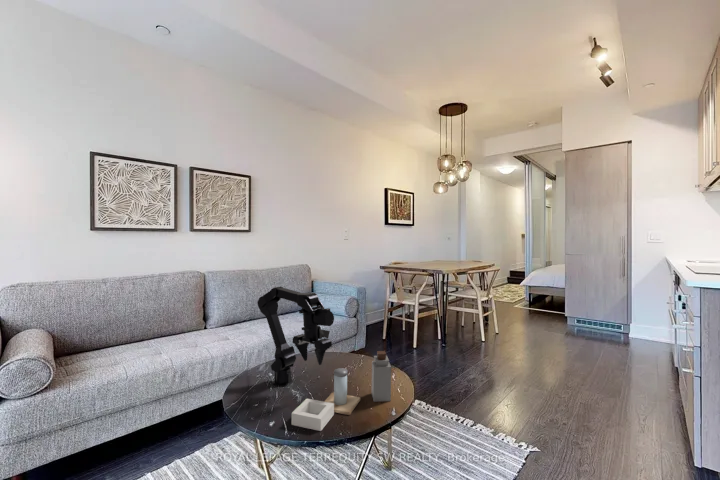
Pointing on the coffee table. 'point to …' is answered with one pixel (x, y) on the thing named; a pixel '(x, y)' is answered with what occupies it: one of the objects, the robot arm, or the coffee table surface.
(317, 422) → the box
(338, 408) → the board
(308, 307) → the robot arm
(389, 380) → the perfume bottle
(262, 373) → the coffee table surface
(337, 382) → the cylinder
